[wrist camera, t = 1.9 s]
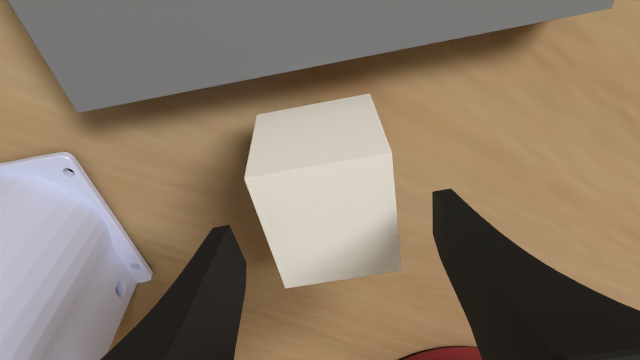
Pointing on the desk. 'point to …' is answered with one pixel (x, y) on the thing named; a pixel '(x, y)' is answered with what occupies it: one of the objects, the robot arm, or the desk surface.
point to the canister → (448, 354)
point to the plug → (325, 191)
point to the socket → (244, 37)
